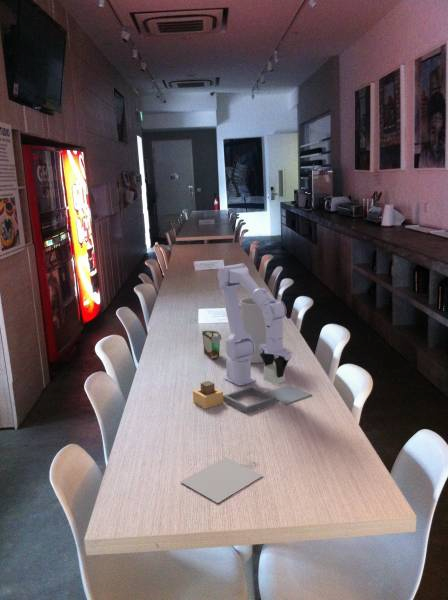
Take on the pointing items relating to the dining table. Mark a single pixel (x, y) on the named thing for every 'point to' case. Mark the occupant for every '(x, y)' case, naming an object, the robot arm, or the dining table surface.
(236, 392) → the grey square frame
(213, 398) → the socket
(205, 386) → the rod
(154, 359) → the dining table surface
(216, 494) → the grey square panel
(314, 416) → the dining table surface
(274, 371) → the block
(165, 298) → the dining table surface
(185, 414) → the dining table surface
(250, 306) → the cylinder vase
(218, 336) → the food container
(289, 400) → the slate mat
